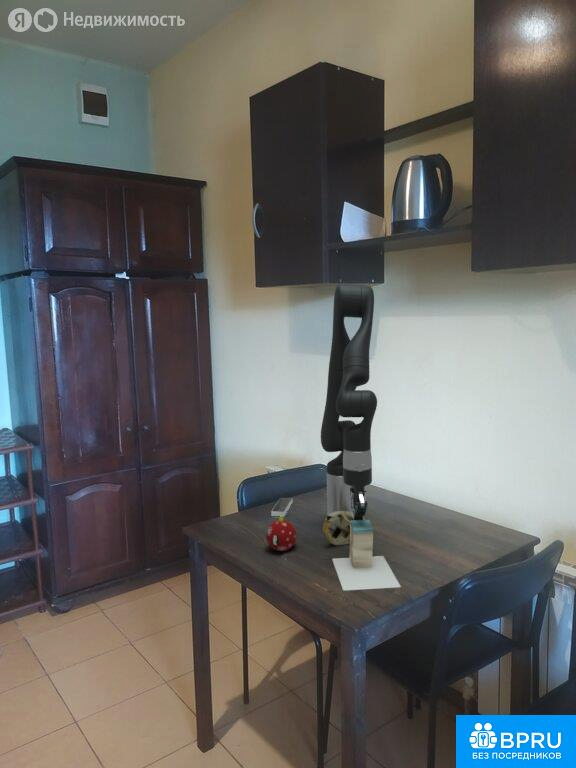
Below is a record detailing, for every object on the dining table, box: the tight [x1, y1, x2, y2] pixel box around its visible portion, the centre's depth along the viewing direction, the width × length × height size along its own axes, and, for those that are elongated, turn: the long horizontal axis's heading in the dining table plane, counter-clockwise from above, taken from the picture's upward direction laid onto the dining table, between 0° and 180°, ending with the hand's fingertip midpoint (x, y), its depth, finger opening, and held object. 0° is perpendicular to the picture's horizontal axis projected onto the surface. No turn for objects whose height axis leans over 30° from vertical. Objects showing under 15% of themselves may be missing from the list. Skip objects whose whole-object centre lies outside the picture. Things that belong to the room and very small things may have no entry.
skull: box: [322, 511, 365, 546], centre depth 166 cm, size 10×16×10 cm, turn 134°
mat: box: [331, 555, 402, 592], centre depth 146 cm, size 18×14×1 cm
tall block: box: [349, 519, 374, 568], centre depth 150 cm, size 5×5×11 cm
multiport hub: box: [270, 497, 293, 518], centre depth 196 cm, size 4×14×2 cm, turn 168°
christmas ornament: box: [265, 516, 298, 552], centre depth 162 cm, size 9×9×10 cm
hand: (358, 528), depth 153 cm, fingers closed
